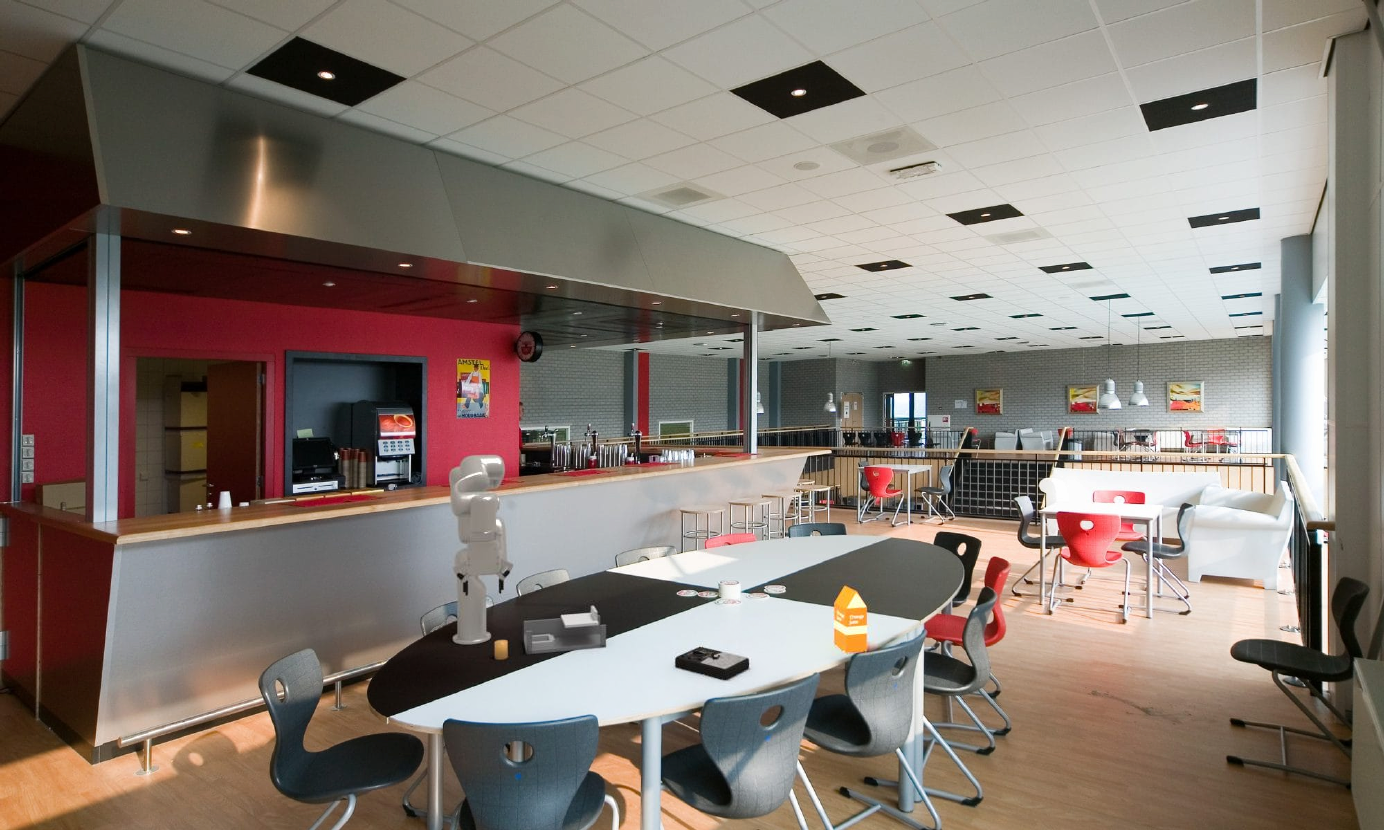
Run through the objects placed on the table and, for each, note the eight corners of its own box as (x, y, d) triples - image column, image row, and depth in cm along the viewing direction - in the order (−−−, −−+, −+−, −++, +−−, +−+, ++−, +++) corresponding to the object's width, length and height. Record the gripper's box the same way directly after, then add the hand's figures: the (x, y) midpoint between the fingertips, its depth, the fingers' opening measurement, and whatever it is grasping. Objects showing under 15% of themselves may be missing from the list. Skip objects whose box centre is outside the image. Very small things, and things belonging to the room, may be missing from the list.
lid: (560, 617, 258) (560, 606, 258) (592, 614, 261) (592, 604, 261) (565, 627, 246) (565, 616, 246) (598, 624, 249) (598, 613, 249)
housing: (523, 642, 255) (523, 621, 255) (599, 635, 262) (599, 615, 262) (526, 654, 242) (526, 631, 242) (606, 646, 250) (606, 625, 250)
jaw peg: (494, 655, 241) (494, 640, 241) (507, 654, 242) (507, 639, 242) (494, 659, 237) (494, 644, 237) (507, 658, 238) (507, 643, 238)
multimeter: (699, 657, 241) (699, 641, 241) (749, 669, 230) (749, 653, 230) (674, 668, 231) (674, 652, 231) (726, 682, 219) (725, 665, 219)
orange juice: (845, 653, 244) (846, 592, 244) (833, 644, 252) (833, 585, 252) (867, 651, 246) (867, 590, 246) (854, 643, 254) (854, 584, 254)
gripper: (512, 533, 229) (512, 588, 230) (453, 535, 225) (453, 592, 225) (513, 537, 222) (513, 594, 222) (452, 540, 218) (452, 598, 218)
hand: (483, 593), depth 224 cm, fingers open, 9 cm apart
